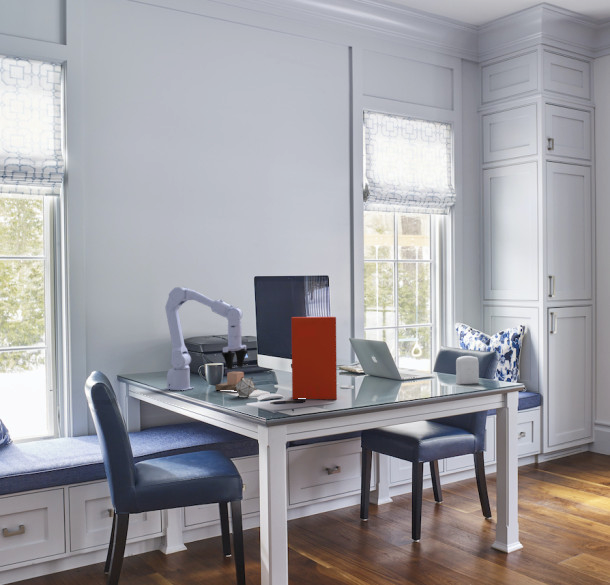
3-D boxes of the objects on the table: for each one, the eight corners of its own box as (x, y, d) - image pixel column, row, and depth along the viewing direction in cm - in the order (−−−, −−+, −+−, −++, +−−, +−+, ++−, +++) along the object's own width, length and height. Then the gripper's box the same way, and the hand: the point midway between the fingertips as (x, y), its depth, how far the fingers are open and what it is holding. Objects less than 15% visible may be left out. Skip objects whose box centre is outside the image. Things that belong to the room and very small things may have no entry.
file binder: (292, 396, 291) (291, 316, 291) (335, 396, 291) (334, 316, 291) (292, 400, 283) (291, 317, 282) (336, 399, 283) (336, 317, 283)
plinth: (215, 390, 309) (215, 385, 309) (232, 387, 319) (232, 381, 319) (238, 392, 303) (238, 386, 303) (254, 389, 313) (254, 383, 313)
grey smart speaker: (458, 384, 321) (458, 356, 320) (454, 383, 325) (454, 355, 325) (480, 383, 322) (480, 356, 322) (476, 382, 327) (476, 355, 327)
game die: (250, 406, 292) (265, 386, 292) (238, 401, 286) (253, 381, 285) (237, 393, 298) (251, 373, 298) (225, 388, 291) (240, 368, 291)
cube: (227, 384, 310) (227, 372, 310) (234, 382, 315) (234, 371, 314) (236, 385, 308) (236, 373, 308) (243, 383, 312) (243, 372, 312)
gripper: (232, 337, 303) (232, 370, 303) (252, 335, 315) (252, 366, 315) (218, 336, 306) (218, 369, 306) (238, 334, 319) (238, 365, 319)
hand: (234, 367), depth 311 cm, fingers open, 7 cm apart
